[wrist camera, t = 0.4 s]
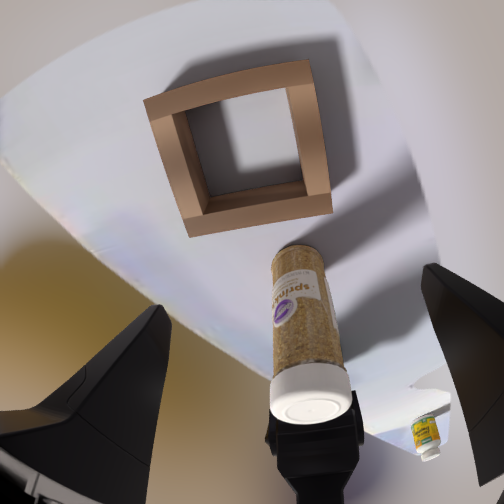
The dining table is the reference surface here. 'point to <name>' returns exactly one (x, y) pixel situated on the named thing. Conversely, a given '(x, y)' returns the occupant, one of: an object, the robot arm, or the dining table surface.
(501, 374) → the robot arm
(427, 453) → the supplement bottle
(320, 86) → the dining table surface
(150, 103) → the walnut socket
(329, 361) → the sprinkles bottle
